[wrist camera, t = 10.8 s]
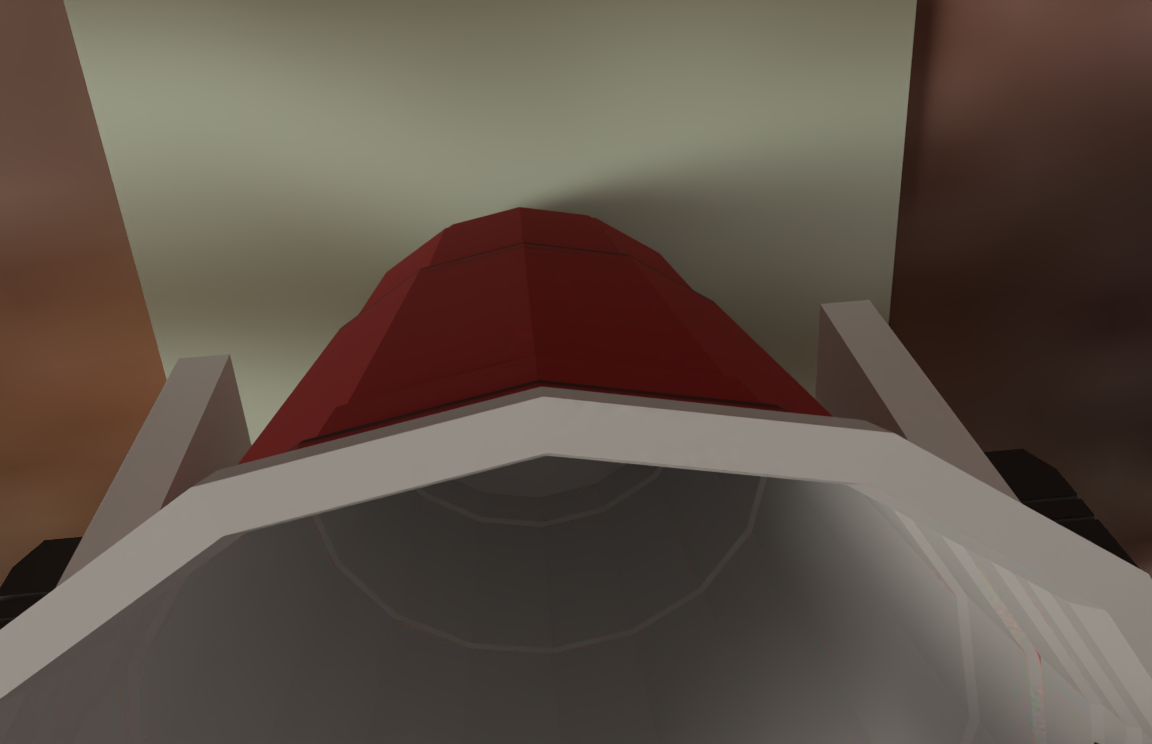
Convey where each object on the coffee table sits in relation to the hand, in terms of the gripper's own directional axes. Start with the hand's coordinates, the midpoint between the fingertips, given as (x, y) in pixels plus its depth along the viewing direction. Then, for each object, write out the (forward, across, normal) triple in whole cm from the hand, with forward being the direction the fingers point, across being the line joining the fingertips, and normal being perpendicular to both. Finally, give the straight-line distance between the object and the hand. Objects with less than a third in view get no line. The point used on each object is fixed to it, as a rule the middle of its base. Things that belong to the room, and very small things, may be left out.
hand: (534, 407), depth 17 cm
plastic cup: (+2, 0, 0) cm, 2 cm away
